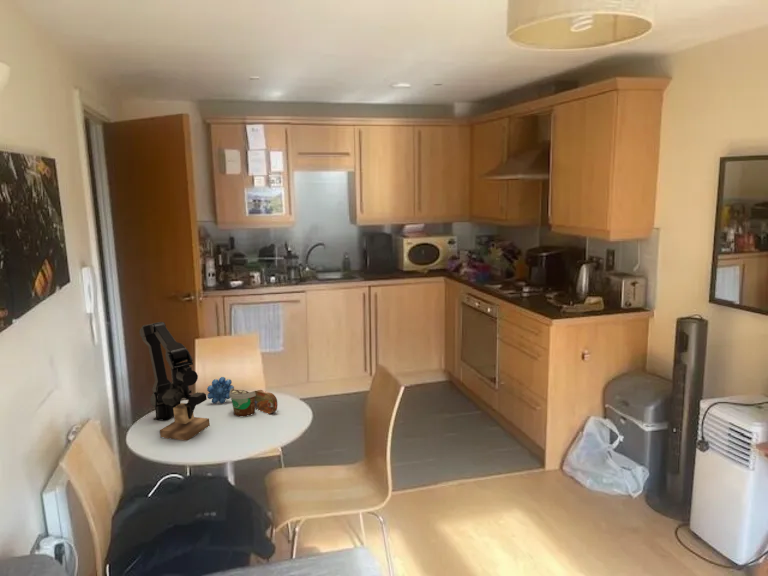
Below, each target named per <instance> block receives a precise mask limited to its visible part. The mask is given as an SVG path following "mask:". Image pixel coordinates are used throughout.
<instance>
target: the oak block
mask: <svg viewBox="0 0 768 576" xmlns="http://www.w3.org/2000/svg"><path fill="white" fill-rule="evenodd" d="M186 403H187V402H181V403H180V404H179V405H177V406H176V407H174V408H173V410H174V417H173V418H174V421H175V423H183V424H186V423H188V422H189V421H191V420H193V419H194V417H195V416H194V415H195V414H194V413H193V414H192V417H191V419H189V418H188V413H187V407H186V406H185V405H184V404H186Z"/></svg>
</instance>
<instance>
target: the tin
mask: <svg viewBox="0 0 768 576" xmlns="http://www.w3.org/2000/svg"><path fill="white" fill-rule="evenodd" d="M254 391H255V394H256V396H255V410H257V409H258V410H257V411H259V410H260V412H262V411H263V412H262V413H265V414H267V413H268V414H270V415H271V414H273V413H275V412H276V411H277V410H278V399H277V397H276V395H275V394H274V393H272V392H270V391H267V390H263V389H257V390H254ZM268 414H267V415H268Z"/></svg>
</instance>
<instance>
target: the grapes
mask: <svg viewBox="0 0 768 576" xmlns="http://www.w3.org/2000/svg"><path fill="white" fill-rule="evenodd" d="M232 383H233V382H232V380H231V379H226V377H224V376H220V377H219V378H218V379H217V378H215V379H212V382H211V384H210V385H209V386H207V389H206V391H207V392H208V393H207V394H206V397H207V399H209V400H211V403H212V404H217V403H218V404H219V403H220V404H224V403H226V400H230V399H231V398H230V397H229V393H230V390H231V389H232V388H234V389H235V386H234V385H232Z"/></svg>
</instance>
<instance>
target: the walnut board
mask: <svg viewBox="0 0 768 576" xmlns="http://www.w3.org/2000/svg"><path fill="white" fill-rule="evenodd" d="M208 426H209V427H211V425H210V418H207V417H197V416H194V419H193V420H191V421H189V422H188V423H186V424H183V423H175V420H174V421H172V422H171V423H170V424H168V425H166V426H165V427H162V428H161V429H159V433H160V438H161V437H164V438H163V439H169V438H171V439H170V440H179V441H184V442H186V441H190V439H192V438H194V437H195V436H196V435H198V434H200V433H202V432H203V431H204V430H205V428H206V429H207V428H209V427H208ZM199 432H200V433H199Z"/></svg>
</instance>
